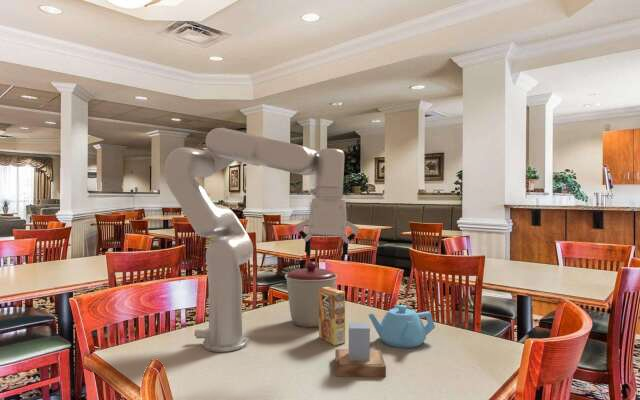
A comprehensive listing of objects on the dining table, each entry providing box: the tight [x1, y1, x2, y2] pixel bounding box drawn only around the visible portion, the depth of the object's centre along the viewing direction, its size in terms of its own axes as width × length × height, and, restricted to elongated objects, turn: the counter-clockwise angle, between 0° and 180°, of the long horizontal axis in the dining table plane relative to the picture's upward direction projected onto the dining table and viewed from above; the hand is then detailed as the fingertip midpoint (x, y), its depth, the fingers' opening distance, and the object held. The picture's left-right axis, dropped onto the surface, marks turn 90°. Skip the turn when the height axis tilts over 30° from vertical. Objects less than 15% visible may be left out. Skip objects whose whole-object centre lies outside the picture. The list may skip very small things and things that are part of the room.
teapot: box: [367, 304, 436, 349], centre depth 126 cm, size 15×15×11 cm
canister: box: [284, 261, 338, 328], centre depth 144 cm, size 18×18×21 cm
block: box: [348, 321, 371, 361], centre depth 106 cm, size 5×5×8 cm
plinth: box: [334, 348, 387, 378], centre depth 106 cm, size 12×11×3 cm
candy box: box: [318, 287, 346, 346], centre depth 127 cm, size 9×4×15 cm, turn 33°
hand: (326, 256), depth 115 cm, fingers open, 9 cm apart
